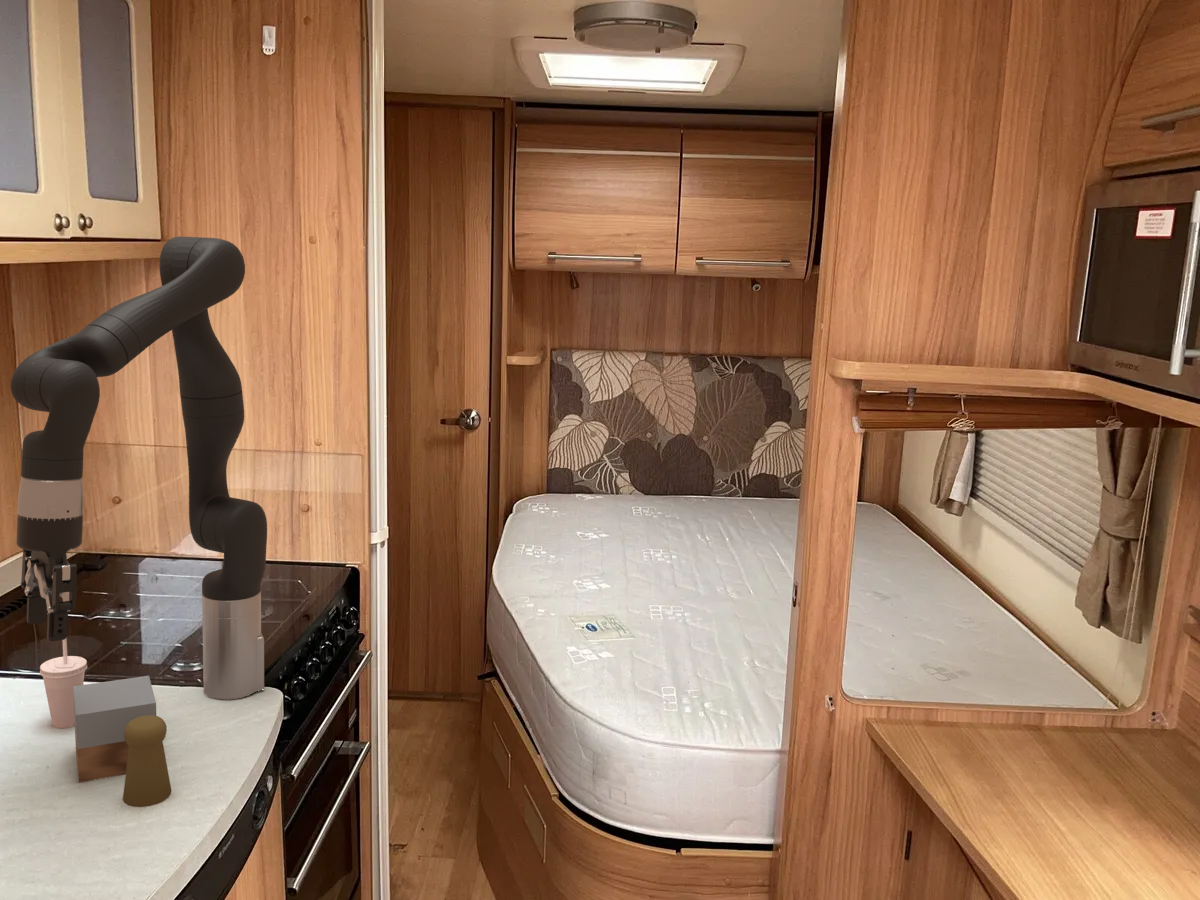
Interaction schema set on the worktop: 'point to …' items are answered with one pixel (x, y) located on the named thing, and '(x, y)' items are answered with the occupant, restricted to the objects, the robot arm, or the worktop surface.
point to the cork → (146, 762)
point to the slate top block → (110, 709)
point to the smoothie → (62, 686)
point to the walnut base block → (101, 761)
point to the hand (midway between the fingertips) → (46, 631)
